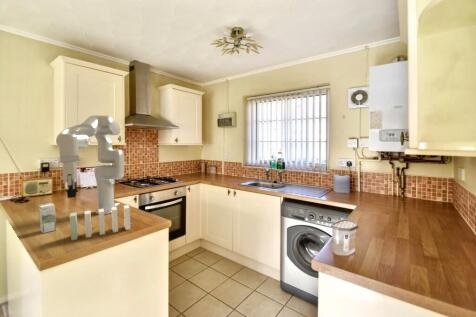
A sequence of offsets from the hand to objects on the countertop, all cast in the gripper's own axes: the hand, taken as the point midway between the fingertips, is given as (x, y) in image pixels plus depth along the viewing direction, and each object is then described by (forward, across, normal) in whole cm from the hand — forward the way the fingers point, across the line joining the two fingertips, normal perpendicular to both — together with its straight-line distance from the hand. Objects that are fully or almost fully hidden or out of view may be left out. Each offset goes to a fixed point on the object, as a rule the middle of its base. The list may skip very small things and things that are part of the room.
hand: (72, 195), depth 113 cm
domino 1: (+21, 0, +6) cm, 22 cm away
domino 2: (+21, 0, +12) cm, 24 cm away
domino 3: (+21, 0, +18) cm, 28 cm away
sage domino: (+21, 0, 0) cm, 21 cm away
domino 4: (+21, 0, +24) cm, 32 cm away
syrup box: (+21, -18, -13) cm, 31 cm away
